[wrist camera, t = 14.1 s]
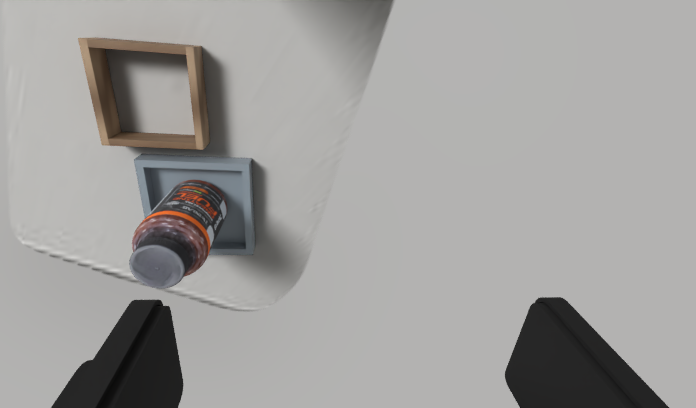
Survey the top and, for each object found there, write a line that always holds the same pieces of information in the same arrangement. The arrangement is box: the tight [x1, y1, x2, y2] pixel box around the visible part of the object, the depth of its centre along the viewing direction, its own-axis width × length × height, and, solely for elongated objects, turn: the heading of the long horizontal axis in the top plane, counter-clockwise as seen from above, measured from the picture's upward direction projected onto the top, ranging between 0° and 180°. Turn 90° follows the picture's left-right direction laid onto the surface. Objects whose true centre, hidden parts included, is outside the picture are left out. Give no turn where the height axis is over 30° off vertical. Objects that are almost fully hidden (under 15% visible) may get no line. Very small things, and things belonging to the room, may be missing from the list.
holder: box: [78, 38, 210, 150], centre depth 31 cm, size 9×9×2 cm
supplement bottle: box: [129, 180, 227, 288], centre depth 32 cm, size 6×6×11 cm
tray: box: [134, 154, 255, 255], centre depth 37 cm, size 10×10×2 cm
